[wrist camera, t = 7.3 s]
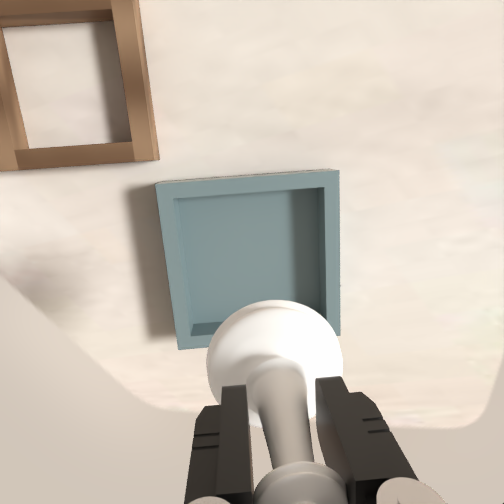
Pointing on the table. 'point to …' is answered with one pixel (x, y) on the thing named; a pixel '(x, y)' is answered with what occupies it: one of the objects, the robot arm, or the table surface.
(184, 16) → the table surface
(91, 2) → the collar
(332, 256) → the tray
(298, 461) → the chess piece
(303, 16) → the table surface
